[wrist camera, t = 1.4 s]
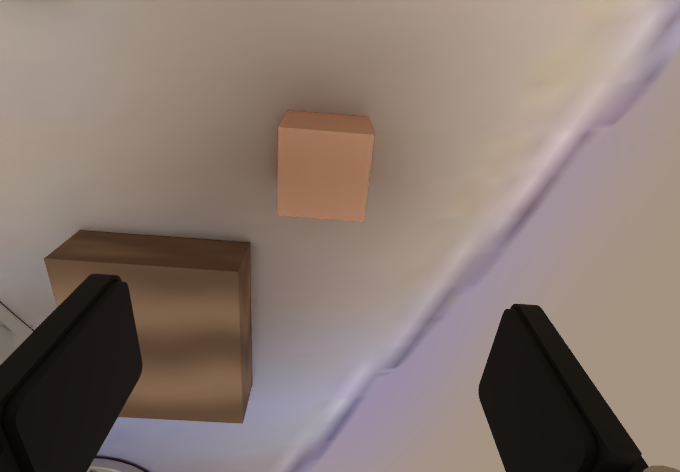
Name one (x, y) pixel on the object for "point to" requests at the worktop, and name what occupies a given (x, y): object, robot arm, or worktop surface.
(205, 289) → the walnut stand
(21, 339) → the skincare box
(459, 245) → the worktop surface
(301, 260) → the worktop surface
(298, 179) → the terracotta cube
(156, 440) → the worktop surface
